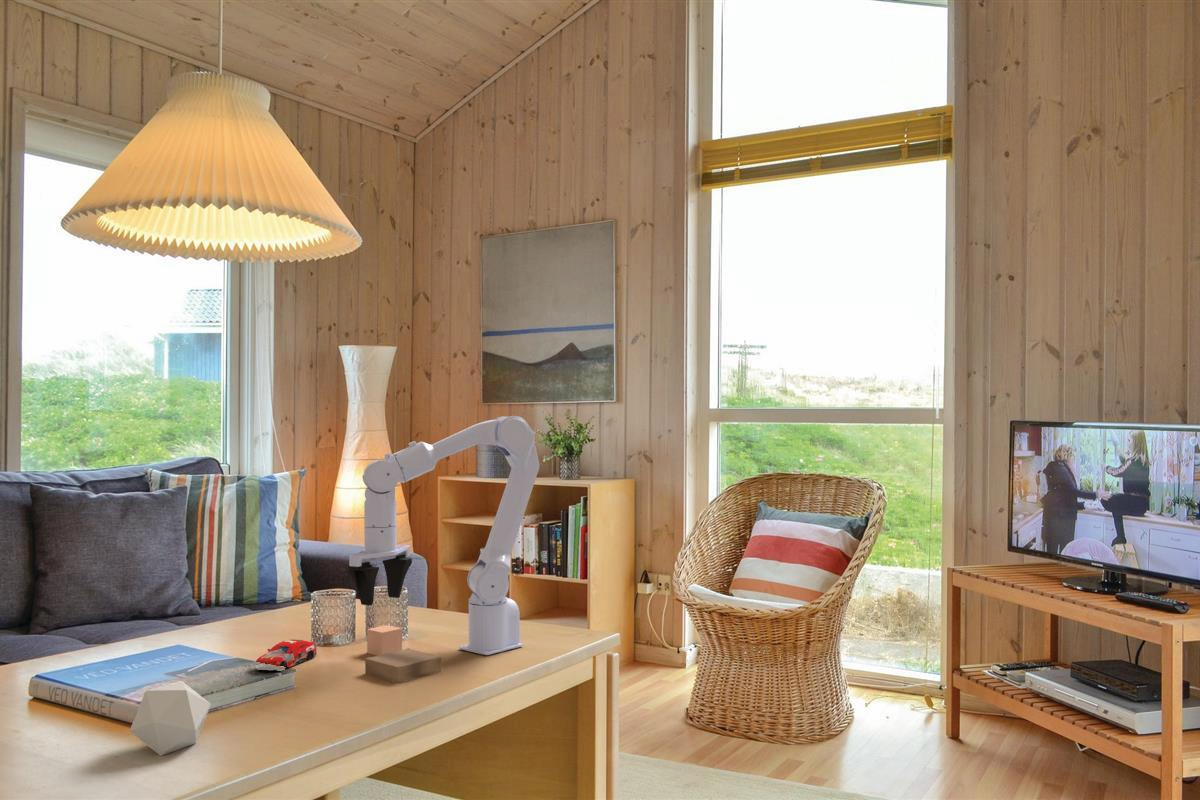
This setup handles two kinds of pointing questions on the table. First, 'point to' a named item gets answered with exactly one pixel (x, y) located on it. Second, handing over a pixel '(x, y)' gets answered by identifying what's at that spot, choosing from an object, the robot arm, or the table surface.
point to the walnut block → (402, 665)
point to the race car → (289, 653)
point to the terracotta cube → (384, 640)
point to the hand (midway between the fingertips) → (380, 600)
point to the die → (170, 717)
